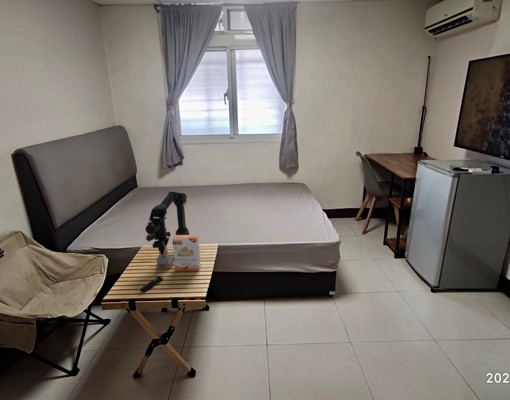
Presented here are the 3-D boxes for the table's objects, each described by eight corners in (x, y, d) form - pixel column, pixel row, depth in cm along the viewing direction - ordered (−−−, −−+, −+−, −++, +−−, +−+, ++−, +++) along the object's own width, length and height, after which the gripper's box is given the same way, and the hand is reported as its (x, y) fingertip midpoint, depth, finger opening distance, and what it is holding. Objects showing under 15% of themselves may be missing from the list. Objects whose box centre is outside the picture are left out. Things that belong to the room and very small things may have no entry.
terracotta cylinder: (168, 252, 190) (167, 244, 189) (166, 255, 185) (165, 248, 184) (160, 252, 190) (159, 245, 189) (158, 256, 185) (157, 248, 184)
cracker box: (175, 271, 183) (171, 238, 177) (177, 267, 188) (174, 234, 183) (199, 271, 182) (196, 237, 177) (200, 266, 188) (198, 234, 183)
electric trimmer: (138, 293, 162) (137, 288, 161) (158, 279, 176) (158, 273, 175) (143, 295, 160) (143, 289, 160) (163, 280, 174) (163, 275, 173)
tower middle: (170, 259, 192) (170, 253, 191) (168, 263, 186) (167, 258, 185) (160, 259, 192) (159, 254, 191) (157, 264, 186) (156, 258, 185)
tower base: (173, 263, 194) (172, 258, 193) (170, 269, 186) (169, 264, 185) (160, 264, 194) (159, 258, 193) (157, 270, 186) (156, 264, 185)
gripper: (151, 223, 192) (154, 247, 196) (141, 234, 174) (145, 260, 178) (169, 222, 192) (171, 246, 197) (161, 233, 174) (164, 259, 179)
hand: (163, 252), depth 187 cm, fingers closed on terracotta cylinder, 5 cm apart
